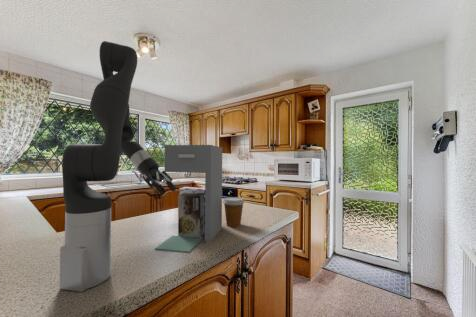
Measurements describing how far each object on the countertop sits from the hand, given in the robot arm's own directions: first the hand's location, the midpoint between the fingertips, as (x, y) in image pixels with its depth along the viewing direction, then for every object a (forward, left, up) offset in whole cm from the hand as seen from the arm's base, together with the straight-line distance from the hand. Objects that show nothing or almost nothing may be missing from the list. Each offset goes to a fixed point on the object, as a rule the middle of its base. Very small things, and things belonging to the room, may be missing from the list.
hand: (169, 191), depth 86 cm
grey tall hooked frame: (+1, -11, -17) cm, 20 cm away
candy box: (+15, -5, -17) cm, 23 cm away
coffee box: (0, -10, -17) cm, 19 cm away
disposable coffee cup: (+15, -24, -17) cm, 33 cm away
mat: (-10, -10, -17) cm, 22 cm away
